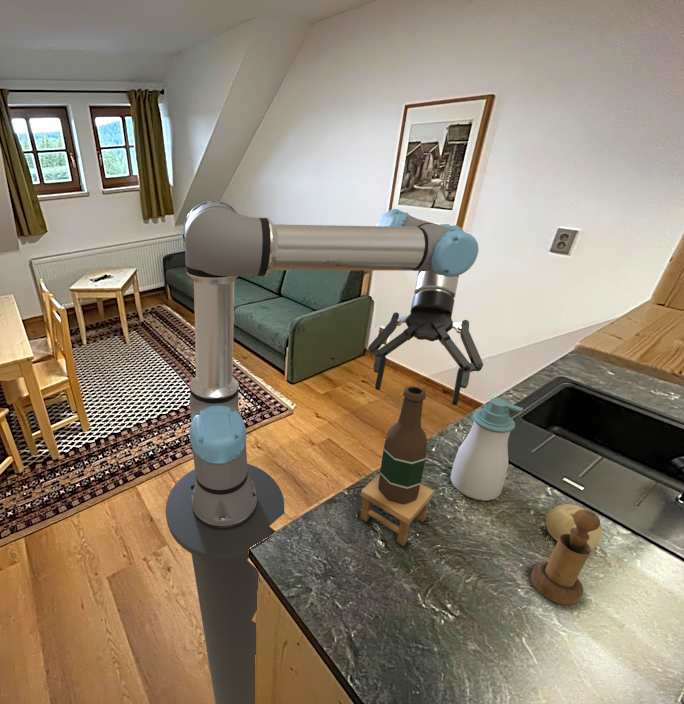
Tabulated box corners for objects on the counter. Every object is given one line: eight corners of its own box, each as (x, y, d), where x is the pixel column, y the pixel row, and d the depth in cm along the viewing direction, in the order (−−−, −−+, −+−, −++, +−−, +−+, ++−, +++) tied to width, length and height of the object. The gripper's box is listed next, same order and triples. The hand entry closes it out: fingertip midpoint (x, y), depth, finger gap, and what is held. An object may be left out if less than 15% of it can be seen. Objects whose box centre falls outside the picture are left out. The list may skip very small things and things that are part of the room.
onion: (609, 560, 72) (603, 539, 69) (553, 554, 77) (544, 534, 74) (600, 519, 77) (593, 498, 74) (547, 515, 82) (538, 496, 79)
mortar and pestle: (572, 577, 70) (610, 504, 62) (584, 612, 65) (627, 537, 57) (526, 564, 73) (556, 492, 65) (534, 597, 68) (568, 523, 60)
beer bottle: (369, 490, 81) (382, 390, 70) (389, 470, 85) (404, 374, 75) (406, 512, 76) (427, 408, 65) (426, 490, 80) (448, 389, 69)
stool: (358, 518, 85) (361, 490, 81) (382, 492, 90) (386, 465, 87) (404, 548, 78) (409, 519, 74) (427, 518, 83) (434, 490, 80)
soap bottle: (491, 510, 84) (521, 423, 74) (442, 486, 91) (462, 403, 80) (506, 485, 89) (535, 400, 79) (458, 464, 96) (479, 383, 86)
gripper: (503, 311, 79) (487, 414, 75) (371, 299, 91) (350, 387, 87) (511, 294, 73) (495, 405, 68) (368, 283, 85) (346, 377, 80)
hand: (414, 395), depth 77 cm, fingers open, 13 cm apart
